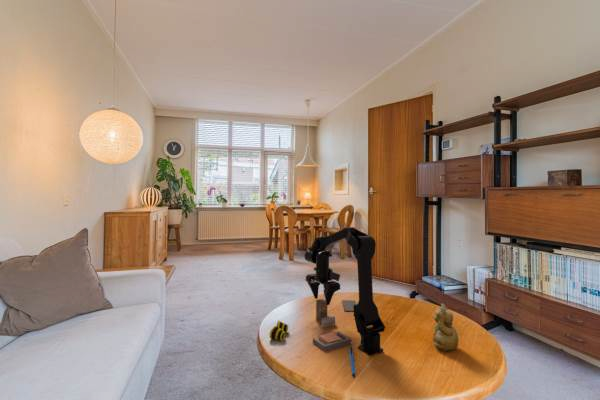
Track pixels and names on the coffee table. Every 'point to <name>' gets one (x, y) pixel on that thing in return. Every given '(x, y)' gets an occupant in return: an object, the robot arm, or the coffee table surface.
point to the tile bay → (324, 347)
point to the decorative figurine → (444, 330)
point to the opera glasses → (279, 331)
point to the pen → (352, 362)
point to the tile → (329, 338)
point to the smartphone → (348, 305)
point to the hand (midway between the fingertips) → (322, 301)
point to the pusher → (323, 314)
